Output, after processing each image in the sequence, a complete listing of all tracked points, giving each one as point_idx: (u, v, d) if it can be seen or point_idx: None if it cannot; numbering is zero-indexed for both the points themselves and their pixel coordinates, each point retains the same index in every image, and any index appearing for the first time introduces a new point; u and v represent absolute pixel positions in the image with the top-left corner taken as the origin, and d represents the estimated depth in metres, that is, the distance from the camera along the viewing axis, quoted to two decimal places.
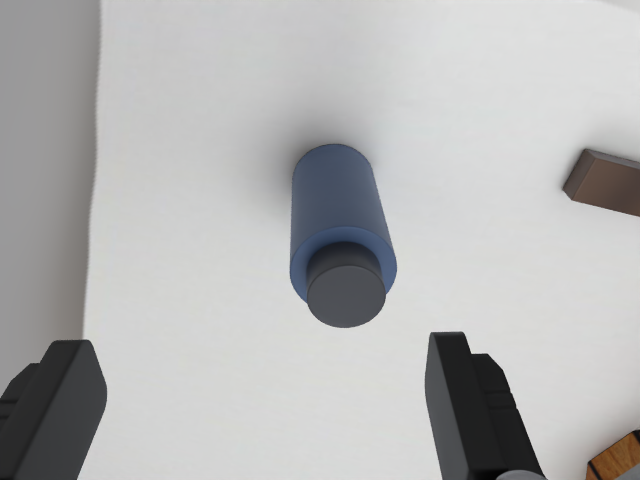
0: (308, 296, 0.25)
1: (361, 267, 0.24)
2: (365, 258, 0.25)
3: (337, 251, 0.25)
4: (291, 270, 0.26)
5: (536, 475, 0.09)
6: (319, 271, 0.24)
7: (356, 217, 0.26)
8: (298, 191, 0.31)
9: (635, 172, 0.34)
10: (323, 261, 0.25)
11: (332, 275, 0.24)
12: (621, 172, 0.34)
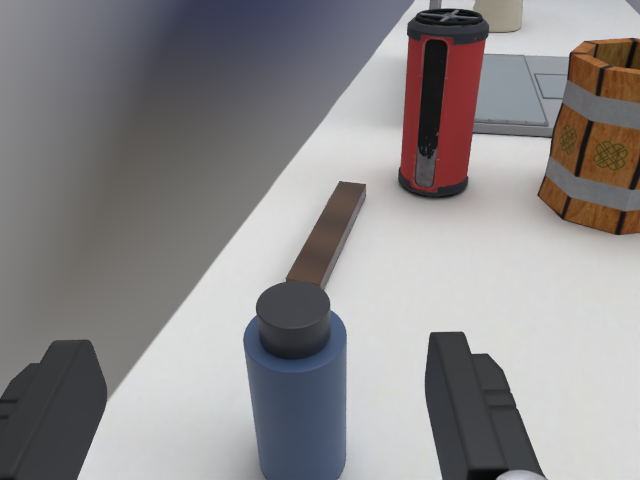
0: (288, 327, 0.25)
1: (260, 296, 0.27)
2: None
3: (258, 326, 0.27)
4: (288, 371, 0.26)
5: (536, 475, 0.09)
6: (263, 324, 0.26)
7: None
8: (270, 443, 0.29)
9: (299, 258, 0.48)
10: (261, 330, 0.26)
11: (265, 312, 0.26)
12: (298, 264, 0.47)
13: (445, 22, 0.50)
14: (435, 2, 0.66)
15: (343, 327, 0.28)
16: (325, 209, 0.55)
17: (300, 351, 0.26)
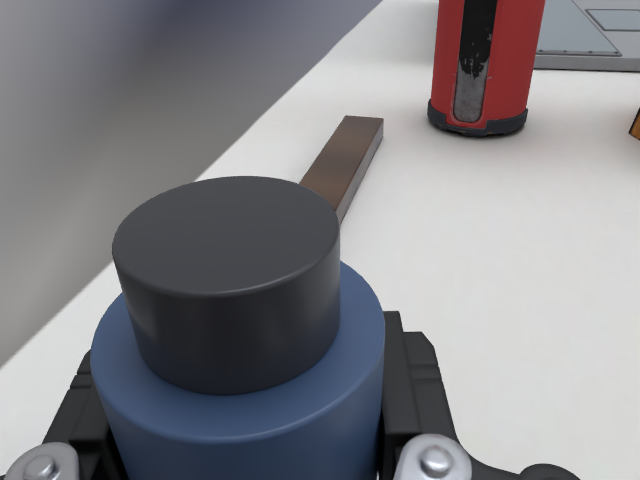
0: (198, 292, 0.07)
1: (136, 208, 0.09)
2: None
3: None
4: (203, 436, 0.08)
5: (446, 438, 0.10)
6: (124, 282, 0.08)
7: None
8: None
9: None
10: (127, 304, 0.08)
11: (137, 247, 0.08)
12: None
13: None
14: None
15: (375, 301, 0.10)
16: (325, 148, 0.37)
17: (246, 370, 0.08)
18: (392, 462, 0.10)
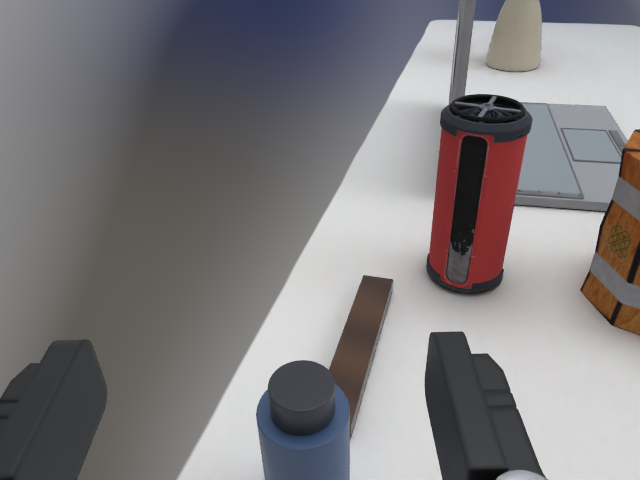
0: (297, 410, 0.28)
1: (271, 376, 0.30)
2: None
3: None
4: (297, 448, 0.28)
5: (536, 475, 0.09)
6: (274, 405, 0.29)
7: None
8: None
9: None
10: (273, 409, 0.29)
11: (276, 393, 0.29)
12: None
13: (485, 118, 0.45)
14: (463, 72, 0.61)
15: (346, 402, 0.31)
16: (350, 315, 0.50)
17: (308, 429, 0.29)
18: None
